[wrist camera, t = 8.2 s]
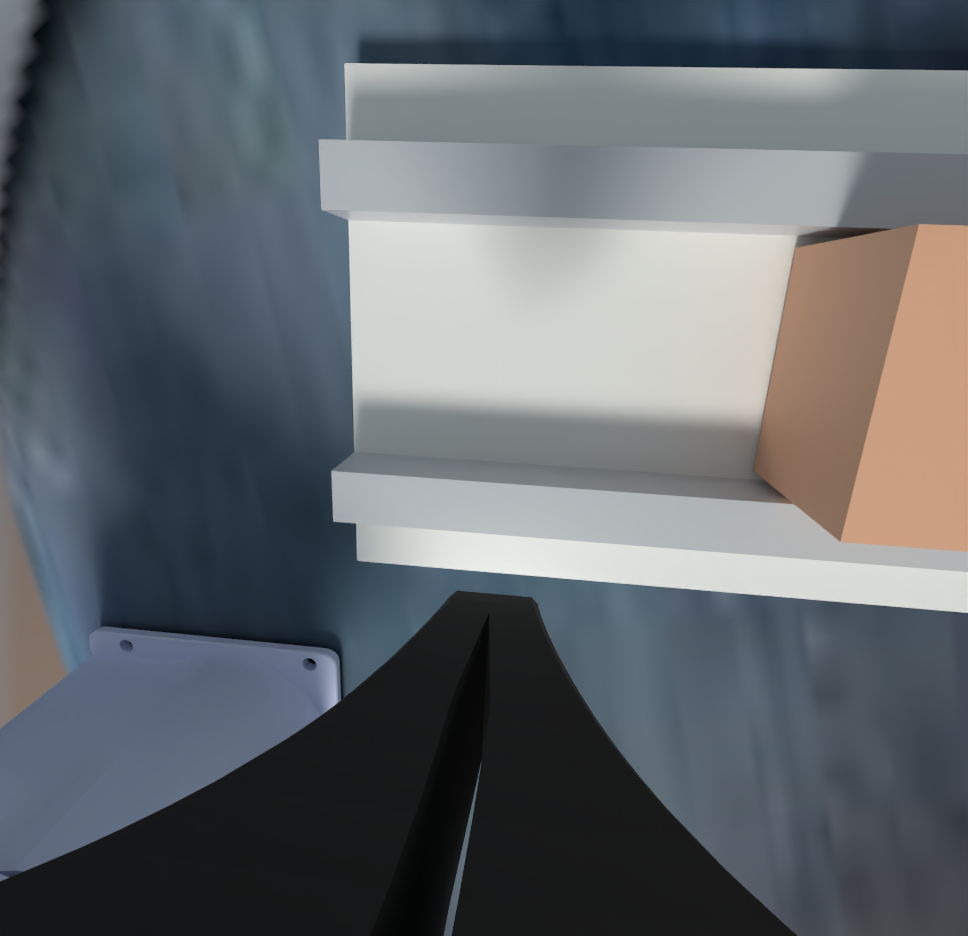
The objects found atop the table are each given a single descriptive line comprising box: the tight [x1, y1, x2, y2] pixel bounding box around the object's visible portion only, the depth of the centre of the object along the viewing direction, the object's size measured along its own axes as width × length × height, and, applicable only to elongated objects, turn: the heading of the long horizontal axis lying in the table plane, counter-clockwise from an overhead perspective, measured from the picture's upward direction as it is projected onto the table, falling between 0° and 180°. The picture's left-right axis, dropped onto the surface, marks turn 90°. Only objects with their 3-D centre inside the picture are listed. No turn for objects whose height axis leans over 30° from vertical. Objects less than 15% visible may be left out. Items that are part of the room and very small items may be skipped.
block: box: [753, 224, 968, 552], centre depth 13 cm, size 5×6×5 cm
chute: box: [319, 63, 968, 613], centre depth 15 cm, size 20×14×4 cm
